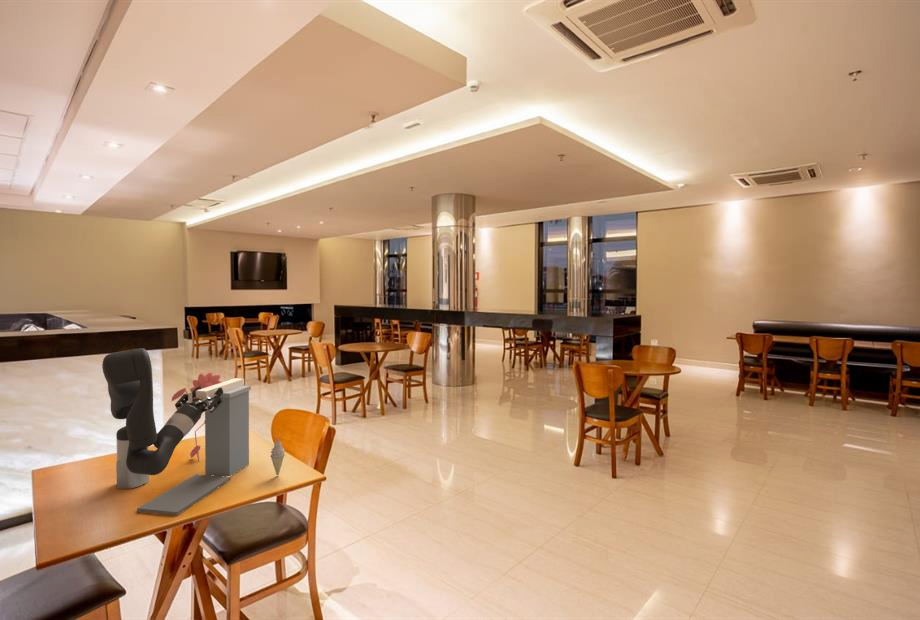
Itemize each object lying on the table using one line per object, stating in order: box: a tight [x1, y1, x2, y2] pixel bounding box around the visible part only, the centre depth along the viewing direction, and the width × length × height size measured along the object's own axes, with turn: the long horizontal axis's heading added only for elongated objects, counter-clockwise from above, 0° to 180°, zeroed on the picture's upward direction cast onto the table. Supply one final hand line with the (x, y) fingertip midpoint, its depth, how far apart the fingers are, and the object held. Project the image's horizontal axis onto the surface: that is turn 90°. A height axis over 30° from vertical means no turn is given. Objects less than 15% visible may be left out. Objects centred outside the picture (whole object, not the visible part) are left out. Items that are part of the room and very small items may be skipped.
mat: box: [136, 473, 231, 517], centre depth 154 cm, size 26×14×1 cm, turn 172°
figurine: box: [171, 371, 223, 462], centre depth 190 cm, size 15×26×35 cm, turn 130°
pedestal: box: [204, 385, 252, 477], centre depth 174 cm, size 13×11×32 cm
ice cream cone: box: [270, 437, 286, 476], centre depth 170 cm, size 5×5×15 cm
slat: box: [196, 377, 245, 399], centre depth 170 cm, size 22×4×2 cm, turn 172°
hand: (210, 388), depth 164 cm, fingers open, 8 cm apart
